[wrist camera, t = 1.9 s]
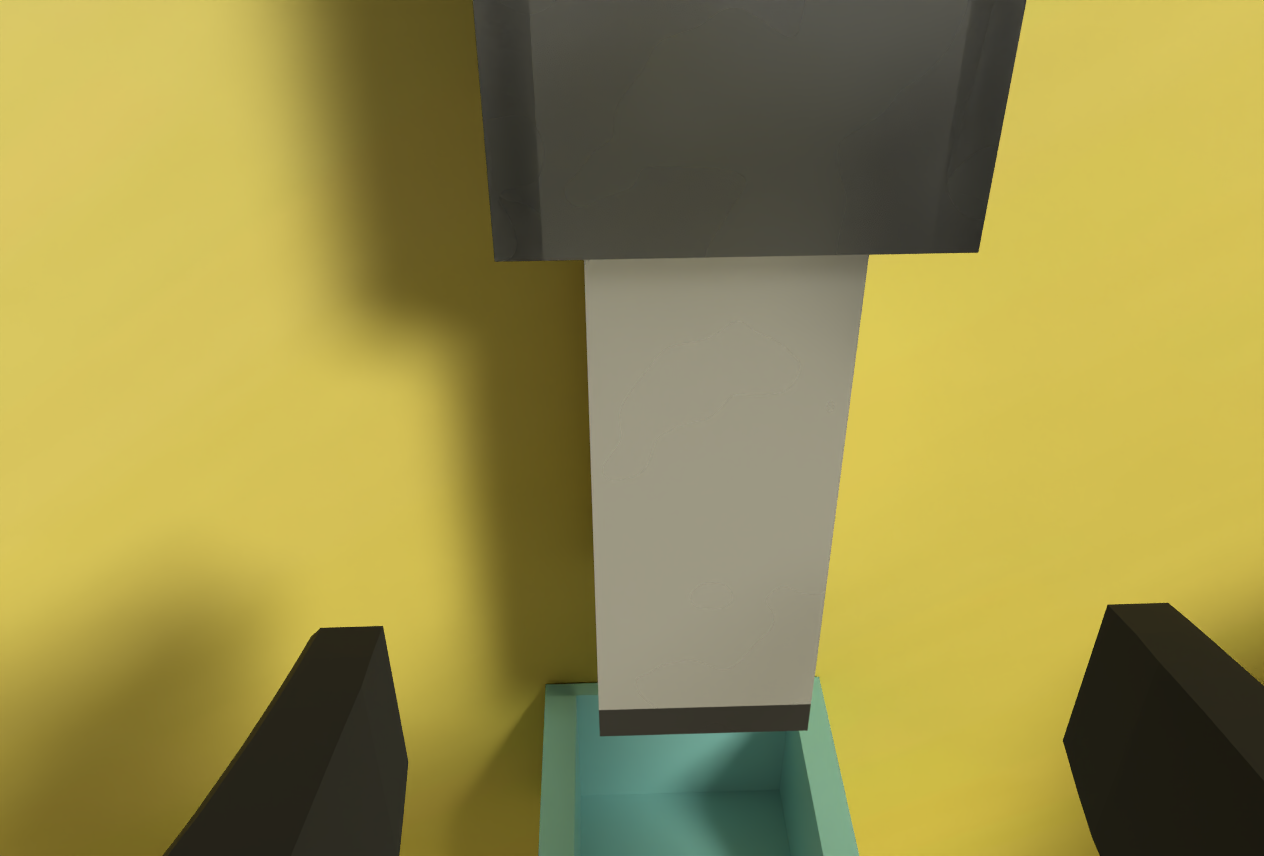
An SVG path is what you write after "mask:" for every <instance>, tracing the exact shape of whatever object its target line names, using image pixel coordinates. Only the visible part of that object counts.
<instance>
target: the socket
mask: <svg viewBox="0 0 1264 856" xmlns="http://www.w3.org/2000/svg"><path fill="white" fill-rule="evenodd" d="M538 856H859V853H858V848H857V844H856V839H855V835H854V831H853V826H852V822H851V817H850V813H849V808H848V804H847V800H846V795H845V791H844V786H843V782H842V777H841V773H840V768H839V764H838V760H837V755H836V751H835V746H834V742H833V737H832V733H831V728H830V724H829V720H828V715H827V711H826V706H825V702H824V697H823V693H822V688H821V684H820V680H819V677H814V684H813V692H812V700H811V708H810V715H809V723H808V731H774V732H739V733H704V734H669V735H634V736H600V728H599V697H598V683H579V684H546V690H545V713H544V737H543V760H542V784H541V807H540V831H539V855H538Z"/></svg>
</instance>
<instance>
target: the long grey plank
mask: <svg viewBox="0 0 1264 856" xmlns="http://www.w3.org/2000/svg"><path fill="white" fill-rule="evenodd" d="M868 257H869V255H818V256H764V257H711V258H658V259H605V260H584V273H585V303H586V334H587V364H588V394H589V424H590V455H591V485H592V515H593V546H594V576H595V606H596V637H597V667H598V697H599V728H600V736H634V735H669V734H704V733H739V732H774V731H808V723H809V715H810V708H811V700H812V692H813V684H814V677H815V669H816V661H817V653H818V646H819V638H820V630H821V622H822V615H823V607H824V599H825V591H826V583H827V576H828V568H829V560H830V552H831V545H832V537H833V529H834V521H835V514H836V506H837V498H838V490H839V483H840V475H841V467H842V459H843V451H844V444H845V436H846V428H847V420H848V413H849V405H850V397H851V389H852V382H853V374H854V366H855V358H856V351H857V343H858V335H859V327H860V319H861V312H862V304H863V296H864V288H865V281H866V273H867V265H868Z"/></svg>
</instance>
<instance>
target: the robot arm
mask: <svg viewBox="0 0 1264 856" xmlns="http://www.w3.org/2000/svg"><path fill="white" fill-rule="evenodd" d="M1063 743H1064V746H1065V749H1066V753H1067V756H1068V760H1069V763H1070V767H1071V770H1072V774H1073V777H1074V781H1075V784H1076V788H1077V791H1078V795H1079V798H1080V801H1081V804H1082V807H1083V810H1084V813H1085V817H1086V820H1087V823H1088V826H1089V829H1090V832H1091V835H1092V838H1093V840H1094V843H1095V845H1096V848H1097V850H1098V852H1099V855H1100V856H1264V686H1263V685H1262V684H1261V683H1260V682H1259V681H1257V680H1256V679H1255V678H1254V677H1253V676H1252V675H1251V674H1249V673H1248V672H1247V671H1246V670H1245V669H1244V668H1243V667H1242V666H1240V665H1239V664H1238V663H1237V662H1236V661H1235V660H1234V659H1233V658H1231V657H1230V656H1229V655H1228V654H1227V653H1226V652H1225V651H1223V650H1222V649H1221V648H1220V647H1219V646H1218V645H1217V644H1216V643H1214V642H1213V641H1212V640H1211V639H1210V638H1209V637H1208V636H1206V635H1205V634H1204V633H1203V632H1202V631H1201V630H1200V629H1198V628H1197V627H1196V626H1195V625H1194V624H1193V623H1191V622H1190V621H1189V620H1188V619H1187V618H1186V617H1184V616H1183V615H1182V614H1181V613H1180V612H1178V611H1177V610H1176V609H1175V608H1174V607H1172V606H1171V605H1170V604H1169V603H1149V604H1115V605H1107V608H1106V611H1105V614H1104V617H1103V620H1102V624H1101V627H1100V630H1099V633H1098V636H1097V639H1096V642H1095V645H1094V648H1093V651H1092V654H1091V657H1090V660H1089V663H1088V666H1087V669H1086V672H1085V675H1084V678H1083V681H1082V684H1081V687H1080V690H1079V693H1078V696H1077V699H1076V702H1075V705H1074V708H1073V711H1072V714H1071V717H1070V720H1069V723H1068V726H1067V729H1066V732H1065V735H1064V738H1063ZM407 770H408V758H407V752H406V747H405V742H404V736H403V731H402V726H401V720H400V715H399V710H398V704H397V699H396V693H395V688H394V683H393V677H392V672H391V667H390V661H389V656H388V651H387V645H386V640H385V635H384V629H383V626H370V627H336V628H320V629H319V630H318V631H317V632H316V633H315V634H314V635H312V636H311V638H310V639H309V641H308V643H307V644H306V646H305V648H304V649H303V651H302V653H301V655H300V656H299V658H298V660H297V661H296V663H295V664H294V666H293V668H292V669H291V671H290V673H289V674H288V676H287V678H286V679H285V681H284V682H283V684H282V686H281V687H280V689H279V690H278V692H277V694H276V695H275V697H274V698H273V700H272V701H271V703H270V705H269V706H268V708H267V709H266V711H265V712H264V714H263V715H262V717H261V718H260V720H259V721H258V723H257V724H256V726H255V727H254V729H253V730H252V732H251V733H250V735H249V736H248V738H247V740H246V741H245V743H244V744H243V746H242V747H241V749H240V750H239V751H238V753H237V754H236V756H235V757H234V758H233V760H232V761H231V763H230V764H229V766H228V767H227V768H226V770H225V771H224V773H223V774H222V776H221V777H220V778H219V780H218V781H217V783H216V784H215V785H214V787H213V788H212V790H211V791H210V793H209V794H208V795H207V797H206V798H205V800H204V801H203V803H202V804H201V805H200V807H199V808H198V810H197V811H196V812H195V814H194V815H193V817H192V818H191V819H190V821H189V822H188V823H187V825H186V826H185V827H184V829H183V830H182V831H181V833H180V834H179V835H178V837H177V838H176V839H175V840H174V842H173V843H172V844H171V846H170V847H169V848H168V849H167V851H166V852H165V853H164V855H163V856H399V852H400V843H401V833H402V824H403V814H404V803H405V792H406V781H407Z"/></svg>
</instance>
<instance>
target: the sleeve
mask: <svg viewBox="0 0 1264 856" xmlns="http://www.w3.org/2000/svg"><path fill="white" fill-rule="evenodd" d="M1025 4H1026V0H473V9H474V21H475V33H476V45H477V57H478V69H479V81H480V93H481V105H482V117H483V128H484V140H485V152H486V164H487V176H488V188H489V200H490V212H491V224H492V236H493V247H494V259H495V262H499V261H552V260H605V259H658V258H711V257H764V256H818V255H871V254H924V253H977V252H978V251H979V246H980V241H981V235H982V230H983V225H984V220H985V214H986V209H987V204H988V199H989V193H990V188H991V183H992V178H993V172H994V167H995V162H996V157H997V151H998V146H999V141H1000V136H1001V130H1002V125H1003V120H1004V115H1005V109H1006V104H1007V99H1008V94H1009V88H1010V83H1011V78H1012V73H1013V67H1014V62H1015V57H1016V52H1017V46H1018V41H1019V36H1020V31H1021V25H1022V20H1023V15H1024V10H1025Z"/></svg>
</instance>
